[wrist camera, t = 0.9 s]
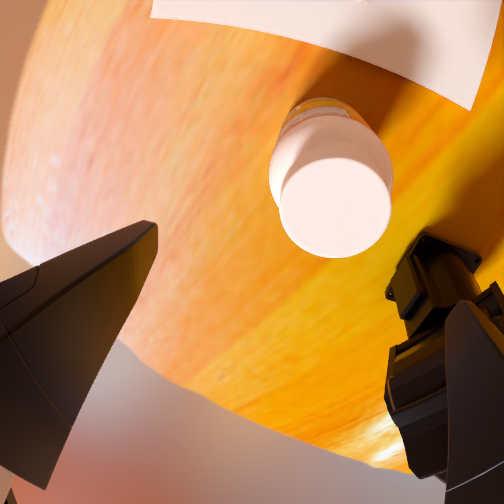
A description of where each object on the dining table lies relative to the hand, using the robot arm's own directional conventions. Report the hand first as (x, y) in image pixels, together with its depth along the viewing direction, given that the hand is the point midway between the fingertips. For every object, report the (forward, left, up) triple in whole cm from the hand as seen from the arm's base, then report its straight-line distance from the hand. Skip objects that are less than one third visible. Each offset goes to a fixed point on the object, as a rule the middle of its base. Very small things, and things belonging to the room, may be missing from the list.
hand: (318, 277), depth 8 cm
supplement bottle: (-1, 0, -13) cm, 13 cm away
